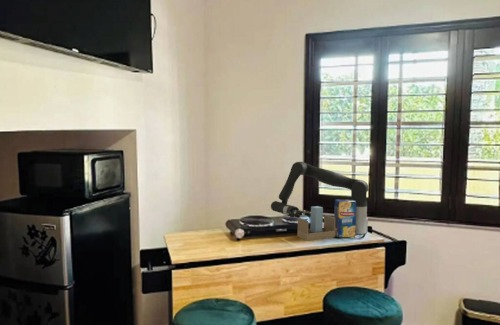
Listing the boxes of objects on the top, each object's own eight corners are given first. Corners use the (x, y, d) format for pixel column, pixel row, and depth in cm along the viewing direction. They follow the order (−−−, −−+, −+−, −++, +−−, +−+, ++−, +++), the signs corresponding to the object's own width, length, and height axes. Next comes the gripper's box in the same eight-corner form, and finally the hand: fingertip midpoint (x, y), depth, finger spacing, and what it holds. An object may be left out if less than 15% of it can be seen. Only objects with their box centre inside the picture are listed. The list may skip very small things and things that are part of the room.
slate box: (316, 235, 228) (317, 206, 227) (322, 237, 224) (322, 207, 223) (310, 236, 226) (311, 206, 225) (315, 238, 222) (316, 208, 221)
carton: (324, 234, 234) (324, 215, 233) (334, 238, 225) (335, 218, 224) (297, 237, 225) (297, 217, 224) (307, 241, 216) (307, 221, 215)
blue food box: (355, 237, 228) (356, 201, 226) (338, 238, 226) (339, 201, 224) (350, 234, 234) (351, 199, 233) (333, 235, 232) (334, 199, 231)
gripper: (281, 206, 246) (295, 210, 232) (300, 204, 253) (314, 209, 238) (281, 217, 247) (295, 222, 232) (299, 215, 253) (314, 220, 239)
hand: (305, 215), depth 235 cm, fingers open, 8 cm apart
